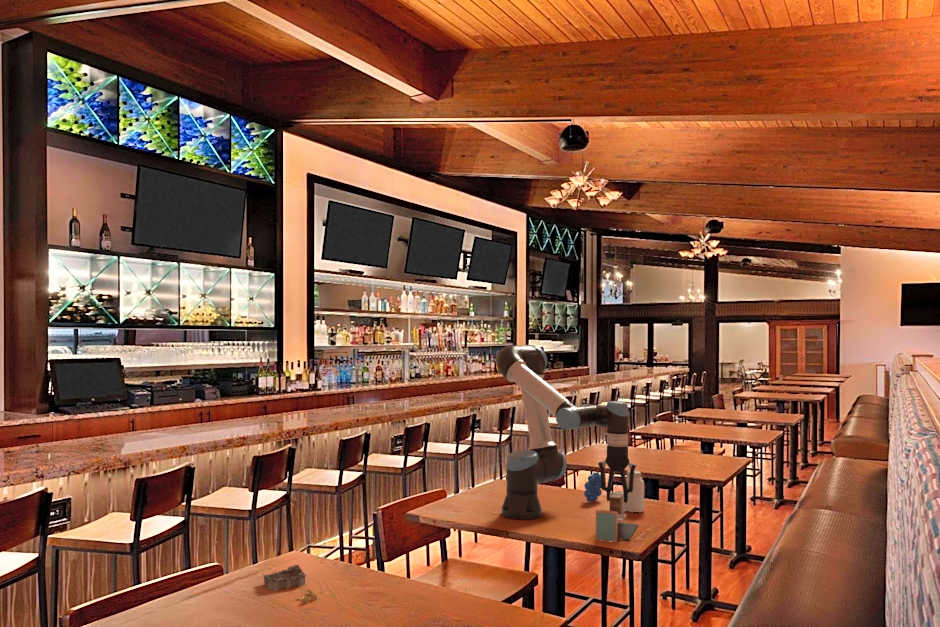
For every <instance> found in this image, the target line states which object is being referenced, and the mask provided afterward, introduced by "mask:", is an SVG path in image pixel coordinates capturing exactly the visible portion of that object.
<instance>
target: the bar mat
mask: <svg viewBox="0 0 940 627" xmlns="http://www.w3.org/2000/svg"><path fill="white" fill-rule="evenodd" d="M638 527H639V524H638V523H629V522H628V523H627V522H618V533H617V539H622V540H621V541H623V540H629V541H630V540H631V539H630V538H632V537H633V536H634V534H635V532H636V530H637V529H638ZM636 528H637V529H636ZM633 533H634V534H633ZM631 536H632V537H631Z"/></svg>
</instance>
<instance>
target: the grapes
mask: <svg viewBox="0 0 940 627" xmlns="http://www.w3.org/2000/svg"><path fill="white" fill-rule="evenodd" d="M599 473H600V472H598V471H594V472H593V473H592V474H590V475H589V476H587V481H586V482H585V483H584V489H585V491H584V492H583V495H584V497H585V498H586V501H587V503H591V502H593V501H595V502H596V501H597V500H598V497H600V496H601V495H602V493H603V490H602V489H601V473H600V474H599Z"/></svg>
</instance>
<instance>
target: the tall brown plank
mask: <svg viewBox="0 0 940 627" xmlns="http://www.w3.org/2000/svg"><path fill="white" fill-rule="evenodd" d="M622 493H623V491H621V490H615V491H613V495H612V496H611V497H610V501H609V511H616V512H618V522H620V523H623V521H624V520H625V519H626V517H627V513H623V512H621V494H622ZM625 508H626V503H625Z"/></svg>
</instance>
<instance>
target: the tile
mask: <svg viewBox="0 0 940 627" xmlns="http://www.w3.org/2000/svg"><path fill="white" fill-rule="evenodd" d="M617 533H618V512H616V511H610V510H606V509H604V510H603V509H596V510H595V541H596V540H602V541H601V542H603V541H612V542H617V543H618V540H617Z"/></svg>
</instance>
